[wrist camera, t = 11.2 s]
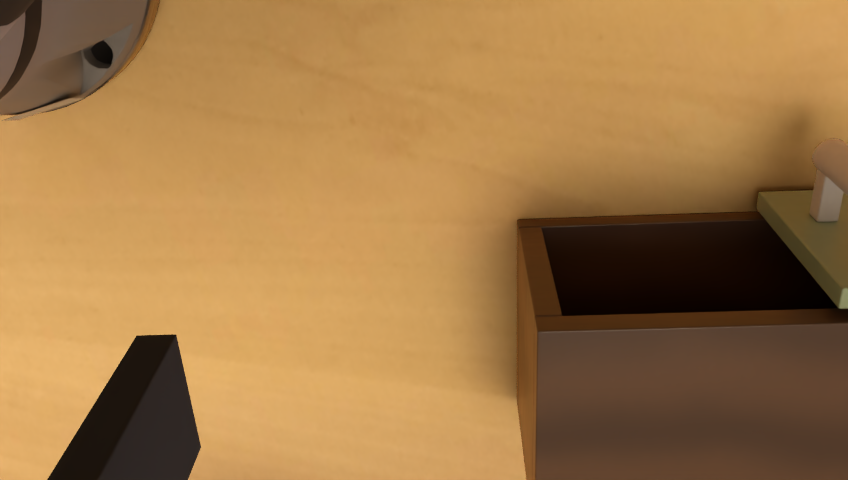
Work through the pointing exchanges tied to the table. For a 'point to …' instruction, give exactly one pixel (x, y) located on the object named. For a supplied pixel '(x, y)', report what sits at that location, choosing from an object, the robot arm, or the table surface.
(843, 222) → the sliding door
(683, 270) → the cabinet
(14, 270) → the table surface
